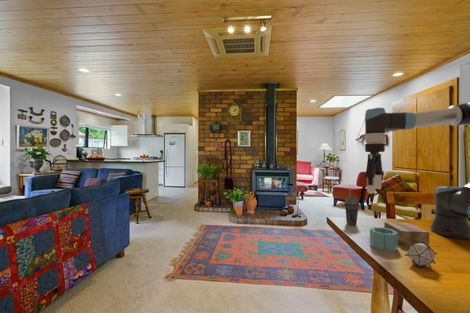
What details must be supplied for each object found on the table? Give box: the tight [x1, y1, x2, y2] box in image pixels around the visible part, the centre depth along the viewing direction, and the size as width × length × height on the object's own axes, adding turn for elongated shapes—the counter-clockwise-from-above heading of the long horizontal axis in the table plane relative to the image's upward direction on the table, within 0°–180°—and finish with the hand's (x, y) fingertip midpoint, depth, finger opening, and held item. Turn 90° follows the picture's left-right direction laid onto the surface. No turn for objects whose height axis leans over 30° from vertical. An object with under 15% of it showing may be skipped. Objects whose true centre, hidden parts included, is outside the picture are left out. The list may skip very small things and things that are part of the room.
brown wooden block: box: [383, 221, 430, 247], centre depth 104 cm, size 11×13×6 cm
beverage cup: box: [344, 188, 360, 227], centre depth 126 cm, size 7×7×20 cm
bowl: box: [369, 226, 399, 252], centre depth 96 cm, size 9×9×7 cm
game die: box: [404, 241, 438, 269], centre depth 81 cm, size 9×8×10 cm
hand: (374, 190), depth 105 cm, fingers open, 13 cm apart
